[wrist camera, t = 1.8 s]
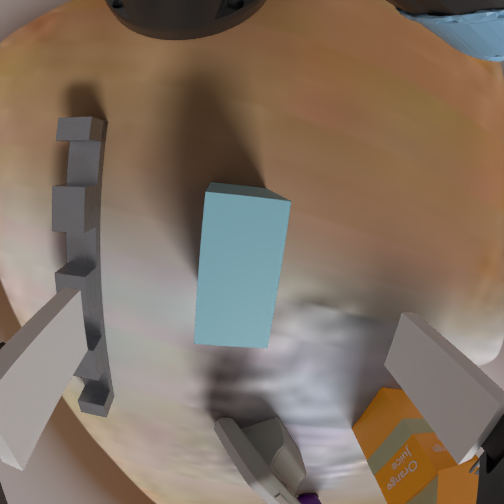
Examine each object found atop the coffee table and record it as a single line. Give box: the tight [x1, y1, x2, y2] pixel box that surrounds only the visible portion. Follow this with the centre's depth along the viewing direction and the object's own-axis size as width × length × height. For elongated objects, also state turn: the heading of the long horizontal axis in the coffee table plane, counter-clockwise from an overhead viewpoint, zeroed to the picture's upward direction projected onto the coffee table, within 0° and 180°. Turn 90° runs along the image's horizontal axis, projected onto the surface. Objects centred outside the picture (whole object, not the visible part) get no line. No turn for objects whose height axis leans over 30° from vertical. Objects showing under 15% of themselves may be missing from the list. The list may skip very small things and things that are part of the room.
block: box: [194, 182, 291, 348], centre depth 21 cm, size 9×4×9 cm, turn 173°
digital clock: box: [214, 417, 306, 504], centre depth 28 cm, size 16×9×11 cm, turn 11°
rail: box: [52, 116, 114, 417], centre depth 24 cm, size 28×3×4 cm, turn 173°
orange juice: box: [352, 387, 479, 504], centre depth 25 cm, size 8×9×20 cm
